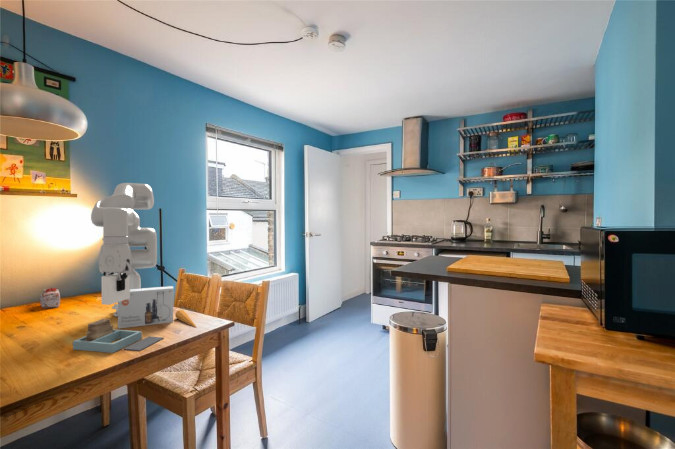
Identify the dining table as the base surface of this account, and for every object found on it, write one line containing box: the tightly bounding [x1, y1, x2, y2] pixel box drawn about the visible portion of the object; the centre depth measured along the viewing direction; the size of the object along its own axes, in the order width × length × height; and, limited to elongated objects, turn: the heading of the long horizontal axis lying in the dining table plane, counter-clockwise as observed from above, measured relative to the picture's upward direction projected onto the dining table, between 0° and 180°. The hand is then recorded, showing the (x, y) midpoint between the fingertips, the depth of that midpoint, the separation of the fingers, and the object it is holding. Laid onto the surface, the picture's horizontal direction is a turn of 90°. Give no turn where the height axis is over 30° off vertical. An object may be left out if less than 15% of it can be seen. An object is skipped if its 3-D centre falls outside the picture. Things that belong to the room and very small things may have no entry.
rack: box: [72, 328, 143, 354], centre depth 118 cm, size 16×13×3 cm
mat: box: [123, 336, 164, 352], centre depth 118 cm, size 6×12×1 cm, turn 171°
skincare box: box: [117, 285, 174, 330], centre depth 141 cm, size 21×5×16 cm, turn 117°
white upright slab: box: [101, 273, 130, 306], centre depth 117 cm, size 3×9×10 cm, turn 170°
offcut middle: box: [85, 324, 114, 340], centre depth 119 cm, size 4×8×3 cm, turn 176°
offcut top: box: [87, 318, 111, 331], centre depth 119 cm, size 4×6×2 cm, turn 172°
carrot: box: [174, 309, 197, 328], centre depth 143 cm, size 20×4×4 cm, turn 47°
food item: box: [39, 287, 61, 310], centre depth 168 cm, size 14×8×10 cm, turn 44°
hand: (116, 289), depth 117 cm, fingers closed on white upright slab, 3 cm apart
